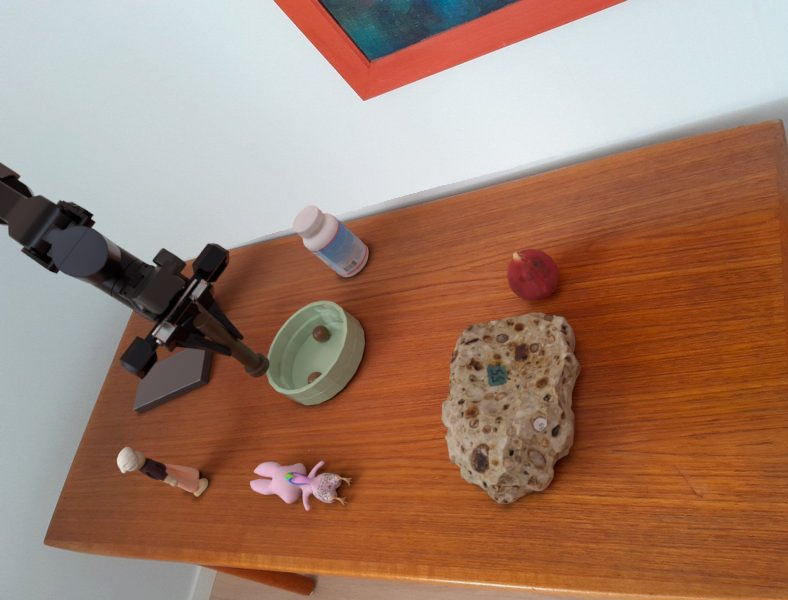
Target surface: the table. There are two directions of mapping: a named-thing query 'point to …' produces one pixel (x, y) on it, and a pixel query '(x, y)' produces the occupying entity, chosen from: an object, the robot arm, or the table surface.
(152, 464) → the grandmother figurine
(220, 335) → the muddler
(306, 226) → the pill bottle
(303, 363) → the bowl
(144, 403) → the rest
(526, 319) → the rock
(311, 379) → the hazelnut
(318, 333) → the hazelnut
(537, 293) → the onion
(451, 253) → the table surface
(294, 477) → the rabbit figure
